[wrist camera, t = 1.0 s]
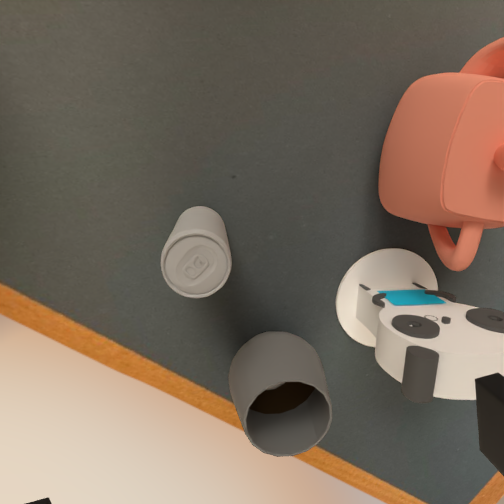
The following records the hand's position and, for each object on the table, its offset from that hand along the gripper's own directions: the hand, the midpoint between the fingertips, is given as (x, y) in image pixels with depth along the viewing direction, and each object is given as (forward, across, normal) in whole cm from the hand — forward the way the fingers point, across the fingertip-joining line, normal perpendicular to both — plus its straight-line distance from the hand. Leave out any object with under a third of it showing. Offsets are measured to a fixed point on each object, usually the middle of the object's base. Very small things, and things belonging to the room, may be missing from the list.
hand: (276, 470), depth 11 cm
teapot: (+27, +21, +5) cm, 35 cm away
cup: (+27, +1, -13) cm, 30 cm away
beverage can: (+27, -2, +3) cm, 27 cm away
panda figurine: (+27, +15, -10) cm, 32 cm away
